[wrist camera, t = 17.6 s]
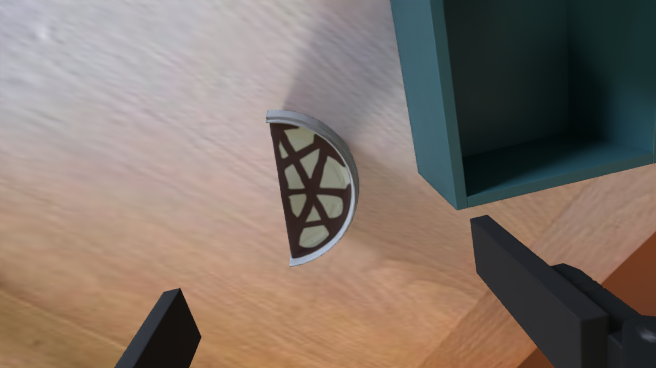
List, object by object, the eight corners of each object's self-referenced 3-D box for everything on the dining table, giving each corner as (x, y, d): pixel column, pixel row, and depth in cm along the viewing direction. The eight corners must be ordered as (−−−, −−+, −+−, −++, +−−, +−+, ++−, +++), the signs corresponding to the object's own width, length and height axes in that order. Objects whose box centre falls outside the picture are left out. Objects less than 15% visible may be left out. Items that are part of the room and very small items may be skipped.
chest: (571, 136, 36) (664, 160, 27) (418, 173, 36) (456, 210, 27) (568, -53, 31) (683, -105, 21) (388, -7, 31) (424, -38, 22)
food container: (354, 213, 37) (369, 263, 28) (295, 220, 37) (290, 273, 28) (342, 92, 33) (355, 103, 24) (276, 100, 33) (264, 113, 24)
